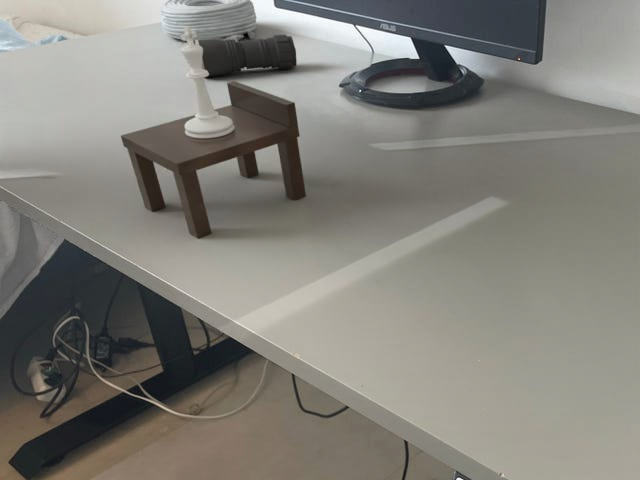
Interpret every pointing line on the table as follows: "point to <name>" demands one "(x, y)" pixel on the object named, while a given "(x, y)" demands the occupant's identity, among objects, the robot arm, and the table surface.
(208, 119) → the chess piece
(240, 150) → the wooden bench with backrest
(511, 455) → the table surface
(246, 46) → the flashlight
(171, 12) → the cable
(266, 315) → the table surface
